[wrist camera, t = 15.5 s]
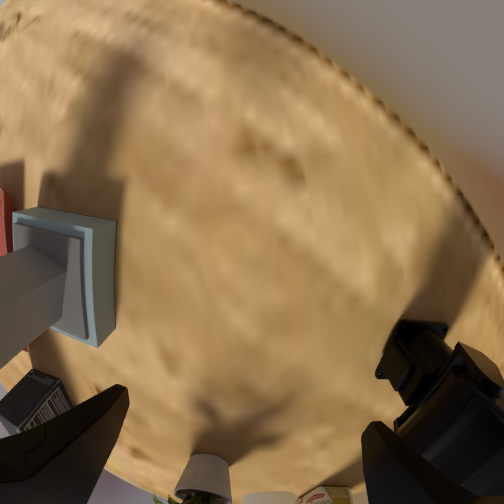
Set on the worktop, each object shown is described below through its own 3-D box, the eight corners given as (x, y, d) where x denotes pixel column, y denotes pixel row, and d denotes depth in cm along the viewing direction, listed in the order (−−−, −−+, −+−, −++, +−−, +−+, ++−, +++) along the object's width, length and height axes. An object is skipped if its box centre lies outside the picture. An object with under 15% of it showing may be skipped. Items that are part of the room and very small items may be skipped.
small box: (30, 365, 25) (-11, 407, 15) (60, 378, 25) (18, 428, 15) (56, 416, 28) (26, 458, 18) (86, 429, 28) (58, 477, 17)
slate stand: (116, 221, 20) (88, 230, 16) (115, 328, 22) (94, 351, 18) (37, 207, 20) (8, 212, 16) (41, 300, 22) (18, 315, 18)
